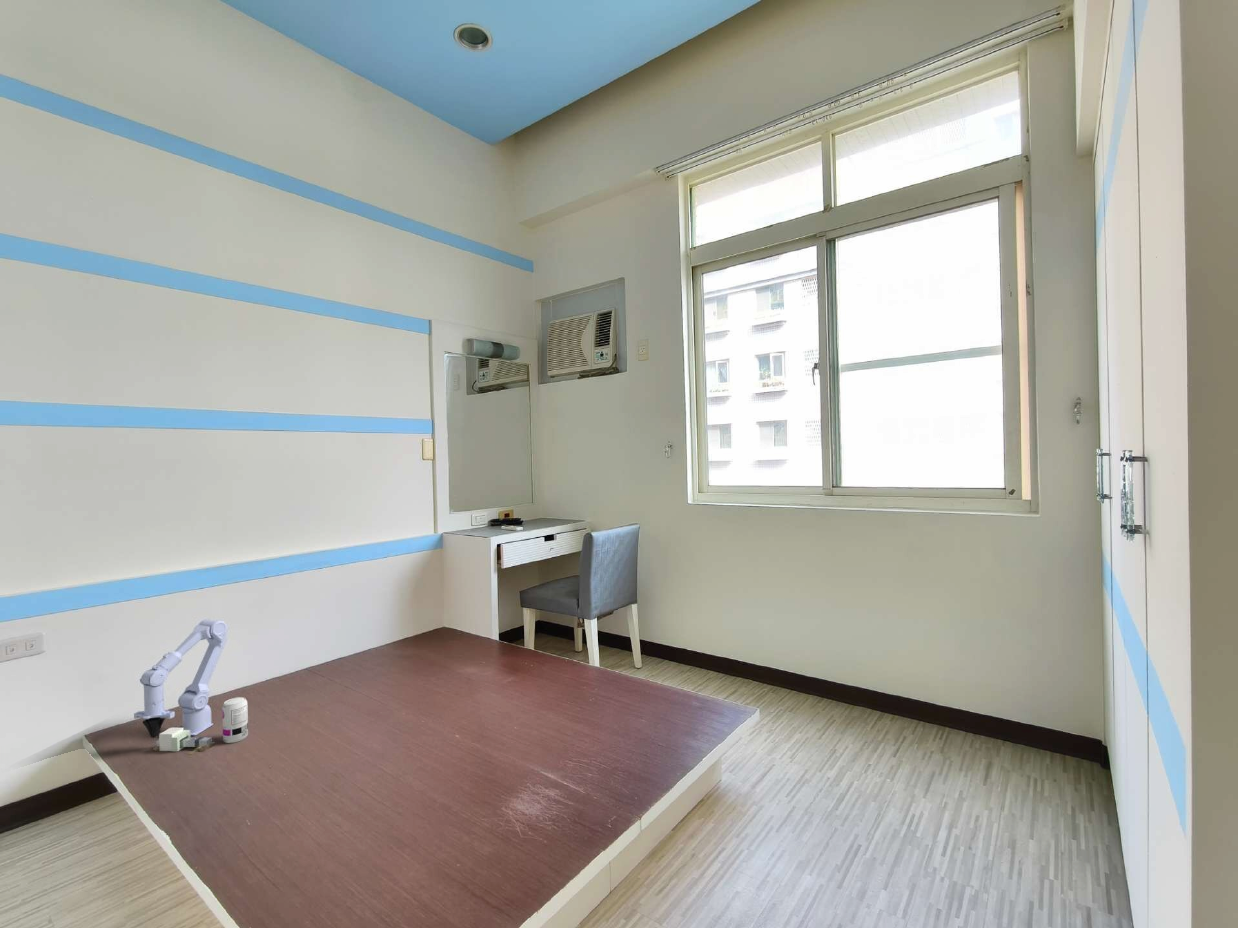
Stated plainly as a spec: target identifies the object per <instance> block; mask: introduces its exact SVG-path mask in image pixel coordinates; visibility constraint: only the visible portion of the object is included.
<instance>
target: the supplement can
mask: <svg viewBox="0 0 1238 928" xmlns="http://www.w3.org/2000/svg"><path fill="white" fill-rule="evenodd" d="M221 709H222V710H221V712H222V715H221V717H222V741H223V742H225V744H233V743H237V742H240V741H243V740H244V739H246V738H247V736H249V716H248V714H249V712H248V709H249V708H248V700H247V699H246V697H244V696H237V697H233V698H230V699H228V700H226V701H224V703H223V705H222V708H221Z"/></svg>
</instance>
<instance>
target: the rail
mask: <svg viewBox="0 0 1238 928" xmlns="http://www.w3.org/2000/svg"><path fill="white" fill-rule="evenodd" d="M215 743H216V742H215V741H213V737H210V736H209V737H208V736H207V737H205V736H200V737H198V736H193V737H191V736H190V737H184V738H183V739H181V740H180V747H184V748H186V747H187V748H190V747H191V748H194V749H193V750H192V751H190V752H188V753H187V754H188V755H193V754H195V753H196V752H197V751H199V752H205V751H207V750H209V749H210V748H212V747H213V746H214V745H215ZM155 744H156V745H155V747H154V748H152V750H153V752H161V751H160V746H159V738H158V739H156V740H155Z"/></svg>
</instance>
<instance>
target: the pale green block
mask: <svg viewBox="0 0 1238 928" xmlns="http://www.w3.org/2000/svg"><path fill="white" fill-rule="evenodd" d="M184 737H191V735H190V730H183V731H182V732H180V733H178V734H176V735H175V736H173V737H171V751H170V752H177V753H178V752H179V751H181V750H182V749H184V748H185V747H180V740H181V739H183V738H184Z"/></svg>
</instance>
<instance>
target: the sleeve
mask: <svg viewBox="0 0 1238 928" xmlns="http://www.w3.org/2000/svg"><path fill="white" fill-rule="evenodd" d="M182 731H183V727H169V728H167V729H166V730H164V731H162V732H159V735H158V737H159V738H158V739H159V746H160V751H159V752H172V751H171V737H173V736H175V735H176V734H178V733H180V732H182Z"/></svg>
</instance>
